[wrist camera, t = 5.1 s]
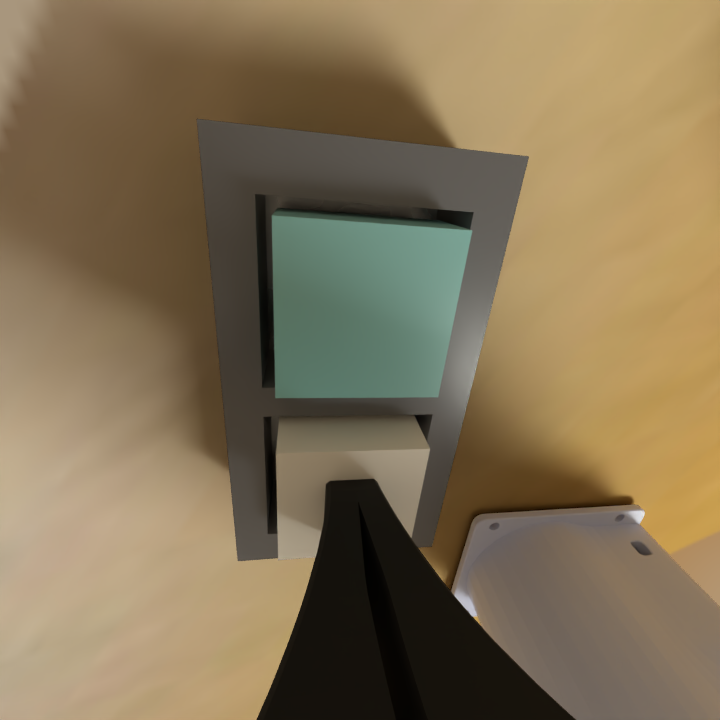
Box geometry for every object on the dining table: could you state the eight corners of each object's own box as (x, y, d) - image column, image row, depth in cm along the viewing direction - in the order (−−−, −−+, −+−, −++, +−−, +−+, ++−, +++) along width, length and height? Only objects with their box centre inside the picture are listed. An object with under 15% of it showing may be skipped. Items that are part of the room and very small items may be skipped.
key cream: (410, 407, 12) (430, 448, 10) (394, 500, 13) (408, 550, 11) (279, 408, 11) (275, 453, 9) (281, 506, 13) (277, 560, 11)
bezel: (480, 160, 10) (529, 156, 8) (413, 495, 15) (432, 546, 13) (221, 132, 9) (196, 119, 7) (247, 504, 14) (237, 561, 12)
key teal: (439, 220, 9) (472, 230, 8) (415, 361, 11) (438, 397, 9) (277, 207, 9) (272, 215, 7) (279, 360, 10) (275, 398, 9)
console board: (466, 162, 11) (480, 160, 10) (407, 478, 16) (413, 495, 15) (228, 136, 10) (221, 132, 9) (250, 485, 15) (247, 504, 14)
